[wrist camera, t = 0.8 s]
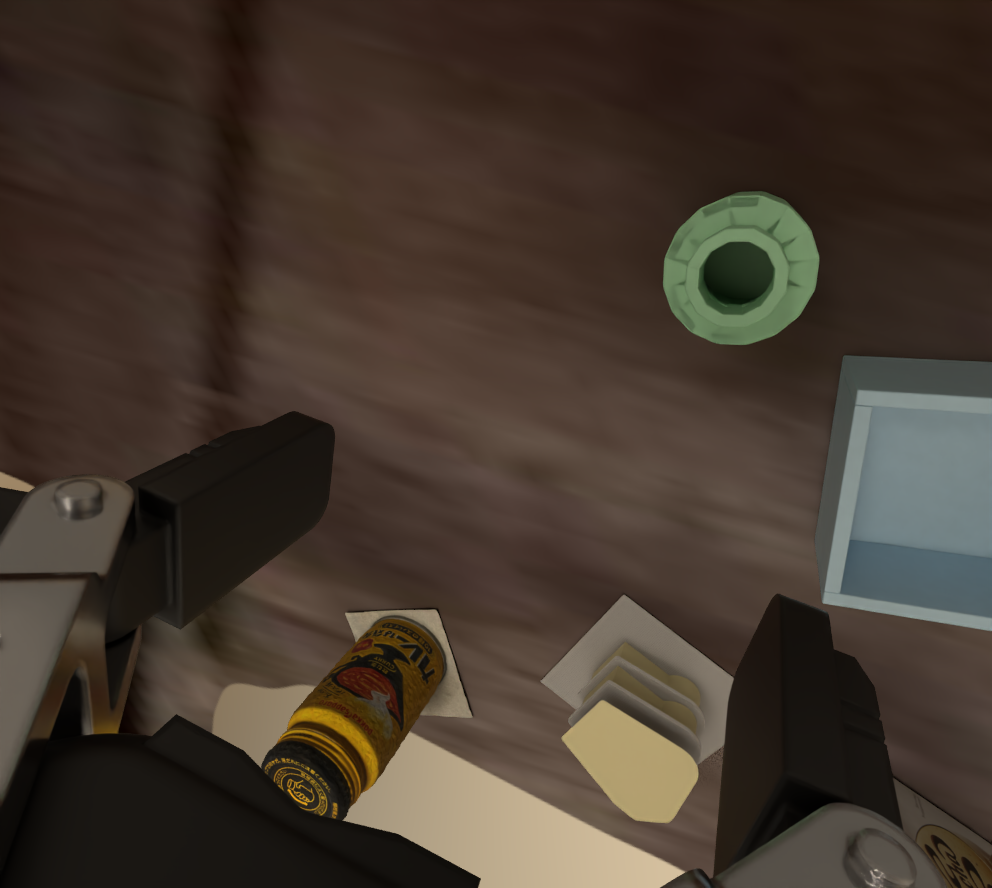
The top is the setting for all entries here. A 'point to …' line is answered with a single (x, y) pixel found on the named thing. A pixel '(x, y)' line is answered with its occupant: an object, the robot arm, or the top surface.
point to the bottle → (741, 268)
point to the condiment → (366, 709)
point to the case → (909, 491)
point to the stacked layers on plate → (641, 710)
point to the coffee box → (946, 841)
